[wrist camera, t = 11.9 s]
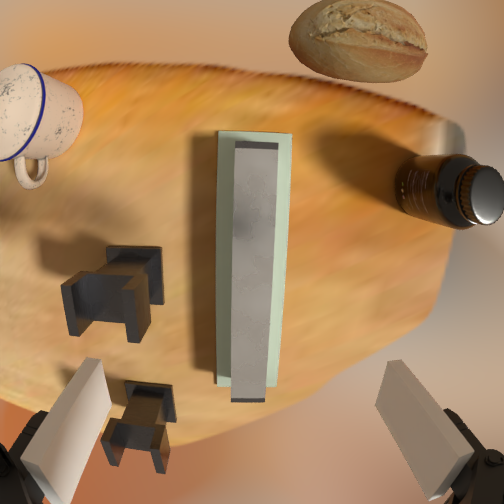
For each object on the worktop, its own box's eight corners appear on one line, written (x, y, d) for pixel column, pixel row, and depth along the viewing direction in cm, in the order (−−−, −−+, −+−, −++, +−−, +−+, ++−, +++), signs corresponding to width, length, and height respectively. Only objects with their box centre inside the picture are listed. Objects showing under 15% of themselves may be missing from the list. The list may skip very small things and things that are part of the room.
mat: (217, 384, 36) (217, 386, 35) (218, 131, 29) (218, 130, 29) (276, 384, 36) (276, 386, 36) (291, 134, 29) (292, 134, 29)
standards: (132, 414, 36) (112, 469, 27) (106, 246, 31) (59, 275, 21) (178, 419, 37) (166, 477, 27) (163, 247, 31) (133, 279, 22)
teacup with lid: (22, 98, 26) (-43, 81, 15) (85, 71, 27) (26, 37, 15) (29, 194, 29) (-39, 207, 18) (93, 176, 29) (29, 180, 18)
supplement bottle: (438, 154, 30) (511, 153, 19) (443, 213, 32) (514, 232, 20) (388, 157, 30) (457, 154, 19) (394, 221, 32) (462, 245, 20)
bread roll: (422, 91, 29) (463, 76, 21) (296, 96, 29) (315, 73, 21) (401, 19, 26) (434, -8, 19) (277, 17, 26) (288, -22, 19)
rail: (231, 378, 35) (230, 402, 31) (235, 146, 29) (235, 140, 25) (261, 378, 35) (264, 402, 31) (272, 147, 29) (278, 142, 25)
